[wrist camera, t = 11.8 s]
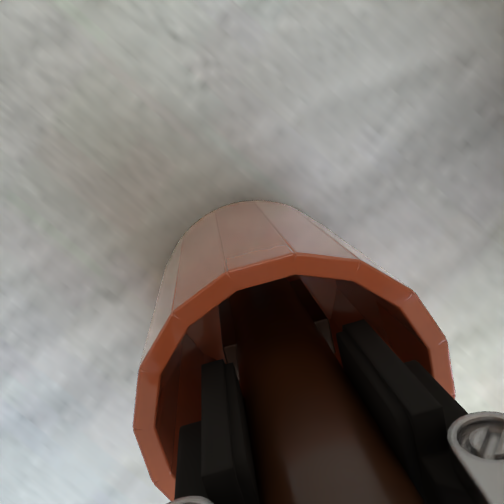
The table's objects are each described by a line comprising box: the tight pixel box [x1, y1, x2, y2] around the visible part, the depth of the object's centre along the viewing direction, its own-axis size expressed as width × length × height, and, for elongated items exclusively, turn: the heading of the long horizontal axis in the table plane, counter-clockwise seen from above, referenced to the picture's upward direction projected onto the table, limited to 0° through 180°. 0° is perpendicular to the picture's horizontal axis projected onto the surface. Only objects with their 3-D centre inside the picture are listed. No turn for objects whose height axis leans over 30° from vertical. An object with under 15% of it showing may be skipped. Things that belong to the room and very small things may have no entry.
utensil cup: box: [133, 200, 455, 501], centre depth 15 cm, size 7×7×9 cm
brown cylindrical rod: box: [218, 278, 425, 504], centre depth 12 cm, size 3×3×12 cm
